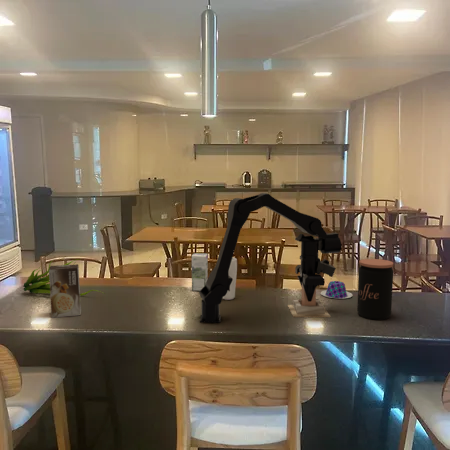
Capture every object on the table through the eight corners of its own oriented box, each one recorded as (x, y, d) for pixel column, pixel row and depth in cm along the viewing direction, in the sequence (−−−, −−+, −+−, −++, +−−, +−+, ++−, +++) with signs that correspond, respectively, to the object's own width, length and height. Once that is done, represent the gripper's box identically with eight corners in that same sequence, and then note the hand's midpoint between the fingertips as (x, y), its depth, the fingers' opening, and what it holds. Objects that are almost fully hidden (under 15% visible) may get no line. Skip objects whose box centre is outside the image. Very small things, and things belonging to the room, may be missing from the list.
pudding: (331, 289, 176) (331, 277, 176) (358, 295, 168) (358, 282, 167) (314, 295, 168) (314, 282, 167) (342, 302, 160) (342, 288, 159)
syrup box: (207, 287, 178) (207, 253, 176) (205, 291, 172) (205, 255, 170) (194, 287, 178) (193, 252, 177) (191, 291, 172) (191, 255, 171)
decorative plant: (60, 310, 149) (58, 268, 147) (21, 294, 168) (19, 256, 167) (105, 298, 163) (104, 260, 161) (64, 285, 182) (63, 250, 180)
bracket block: (315, 308, 146) (316, 285, 145) (303, 308, 146) (304, 285, 145) (312, 304, 150) (313, 282, 149) (301, 304, 150) (301, 282, 149)
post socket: (330, 317, 142) (330, 308, 142) (293, 317, 142) (293, 308, 141) (321, 306, 154) (321, 297, 153) (287, 306, 154) (287, 297, 153)
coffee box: (81, 309, 149) (79, 263, 147) (80, 315, 143) (78, 267, 141) (52, 312, 147) (50, 265, 145) (50, 318, 140) (48, 269, 139)
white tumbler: (237, 295, 166) (237, 257, 165) (236, 301, 160) (236, 260, 158) (219, 295, 167) (219, 256, 165) (217, 300, 160) (217, 260, 158)
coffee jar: (350, 312, 147) (352, 259, 145) (376, 308, 151) (378, 257, 149) (371, 322, 137) (373, 266, 135) (398, 318, 141) (401, 263, 139)
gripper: (341, 259, 136) (339, 308, 138) (326, 249, 155) (325, 292, 157) (305, 259, 136) (304, 308, 138) (295, 249, 155) (294, 292, 156)
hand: (308, 299), depth 147 cm, fingers closed on bracket block, 4 cm apart
